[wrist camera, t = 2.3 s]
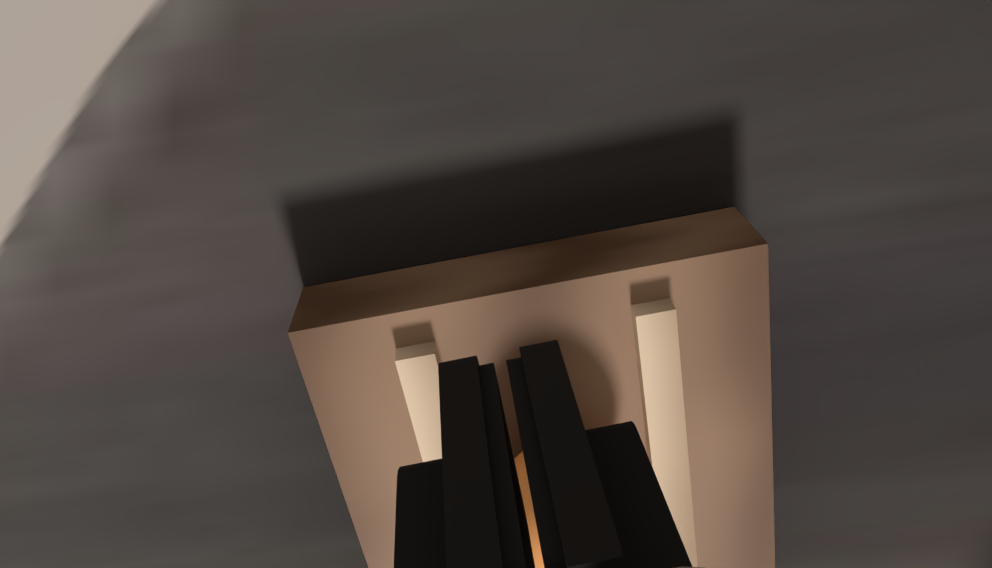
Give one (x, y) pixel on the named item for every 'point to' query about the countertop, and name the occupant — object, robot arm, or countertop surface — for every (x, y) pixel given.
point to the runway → (588, 359)
